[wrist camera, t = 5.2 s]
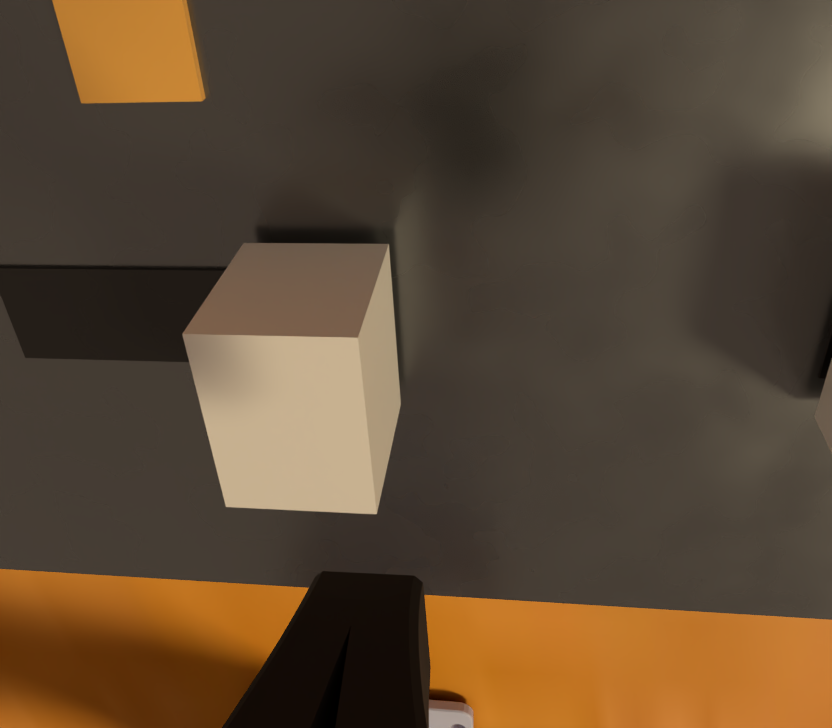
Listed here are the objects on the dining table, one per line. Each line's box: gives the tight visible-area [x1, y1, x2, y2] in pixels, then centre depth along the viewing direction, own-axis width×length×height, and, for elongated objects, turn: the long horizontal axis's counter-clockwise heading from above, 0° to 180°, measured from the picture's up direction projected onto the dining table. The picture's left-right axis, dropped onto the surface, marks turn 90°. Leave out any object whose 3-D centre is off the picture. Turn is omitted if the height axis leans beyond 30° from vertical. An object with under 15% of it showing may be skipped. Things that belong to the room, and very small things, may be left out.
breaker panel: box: [0, 0, 832, 619], centre depth 18 cm, size 18×41×2 cm, turn 93°
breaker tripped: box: [182, 243, 401, 514], centre depth 16 cm, size 4×3×4 cm
